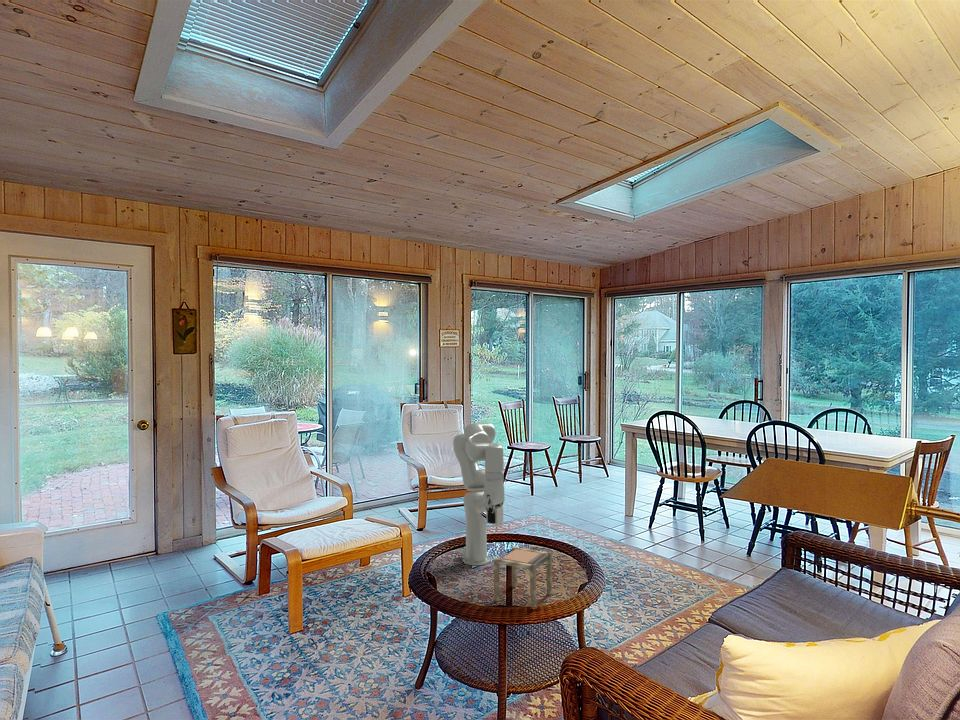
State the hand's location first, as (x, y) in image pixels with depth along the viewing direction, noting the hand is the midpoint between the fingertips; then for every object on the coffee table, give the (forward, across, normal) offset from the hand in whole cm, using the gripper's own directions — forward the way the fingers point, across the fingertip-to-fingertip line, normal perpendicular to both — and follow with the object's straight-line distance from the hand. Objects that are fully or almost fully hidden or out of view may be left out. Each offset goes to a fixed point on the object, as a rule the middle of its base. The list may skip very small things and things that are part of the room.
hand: (494, 520), depth 215 cm
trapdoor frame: (+26, +5, +15) cm, 30 cm away
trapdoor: (+11, +5, +15) cm, 19 cm away
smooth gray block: (+1, 0, 0) cm, 1 cm away
